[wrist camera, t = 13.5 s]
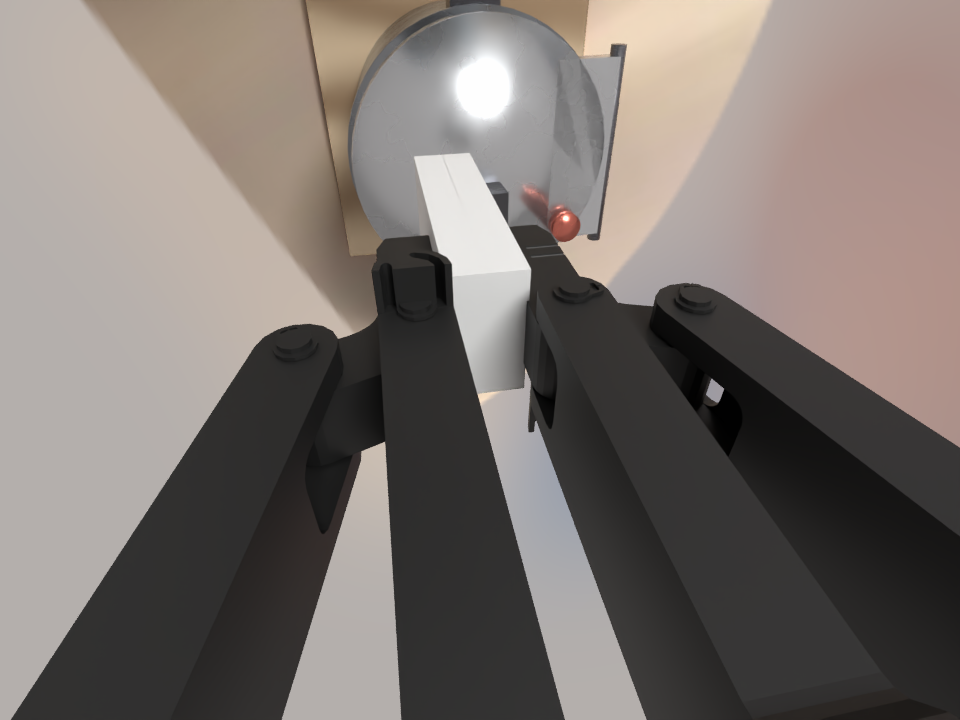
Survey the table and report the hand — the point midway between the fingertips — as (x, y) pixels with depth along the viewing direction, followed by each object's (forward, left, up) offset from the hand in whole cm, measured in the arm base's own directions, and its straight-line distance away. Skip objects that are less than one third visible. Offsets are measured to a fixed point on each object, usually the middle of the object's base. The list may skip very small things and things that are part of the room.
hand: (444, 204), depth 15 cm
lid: (+4, +4, -16) cm, 17 cm away
